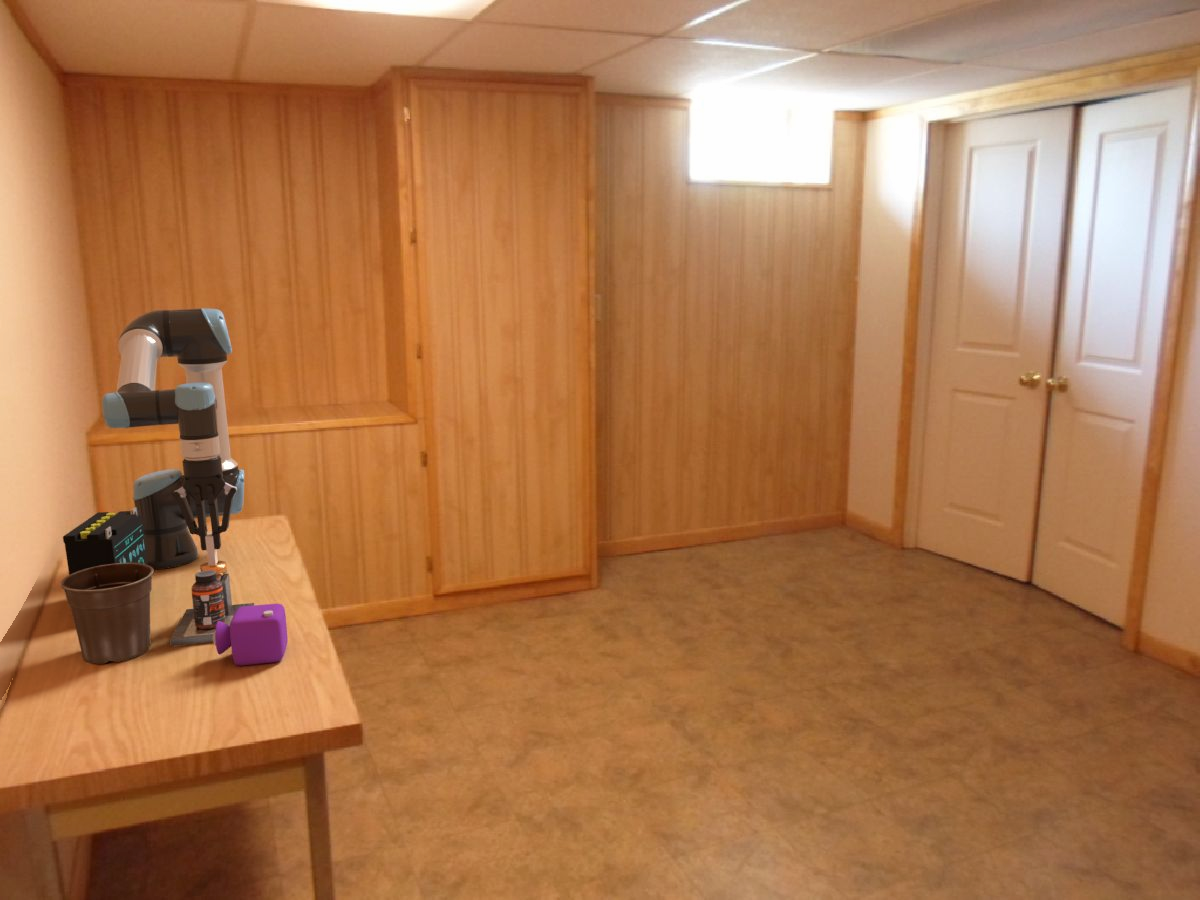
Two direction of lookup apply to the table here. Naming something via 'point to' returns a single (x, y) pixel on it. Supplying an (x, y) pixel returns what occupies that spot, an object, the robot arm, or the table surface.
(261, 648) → the toy camera
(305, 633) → the table surface
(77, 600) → the plant pot
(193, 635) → the base
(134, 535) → the battery
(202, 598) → the supplement bottle
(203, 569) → the plunger
